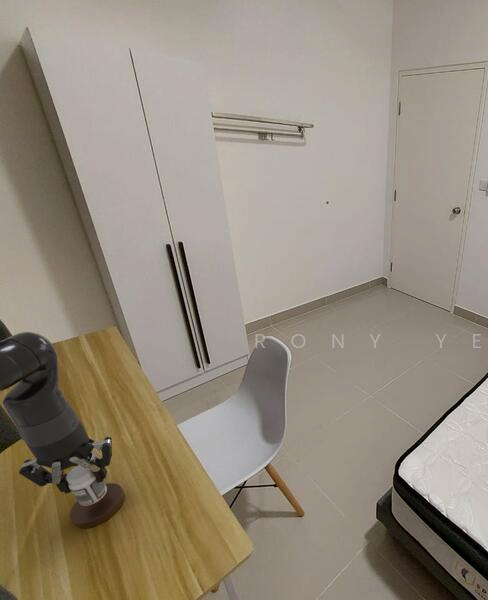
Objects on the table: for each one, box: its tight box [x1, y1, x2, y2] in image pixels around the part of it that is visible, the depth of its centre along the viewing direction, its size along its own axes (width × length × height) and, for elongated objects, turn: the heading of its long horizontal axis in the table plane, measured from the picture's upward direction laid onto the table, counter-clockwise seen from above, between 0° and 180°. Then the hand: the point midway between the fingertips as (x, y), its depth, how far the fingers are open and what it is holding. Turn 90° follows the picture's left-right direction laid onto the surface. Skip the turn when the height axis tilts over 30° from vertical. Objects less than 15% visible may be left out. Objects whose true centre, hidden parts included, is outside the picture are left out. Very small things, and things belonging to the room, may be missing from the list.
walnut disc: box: [69, 482, 126, 530], centre depth 74 cm, size 9×9×2 cm
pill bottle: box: [66, 465, 107, 506], centre depth 70 cm, size 5×5×8 cm
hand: (86, 483), depth 70 cm, fingers closed on pill bottle, 4 cm apart
